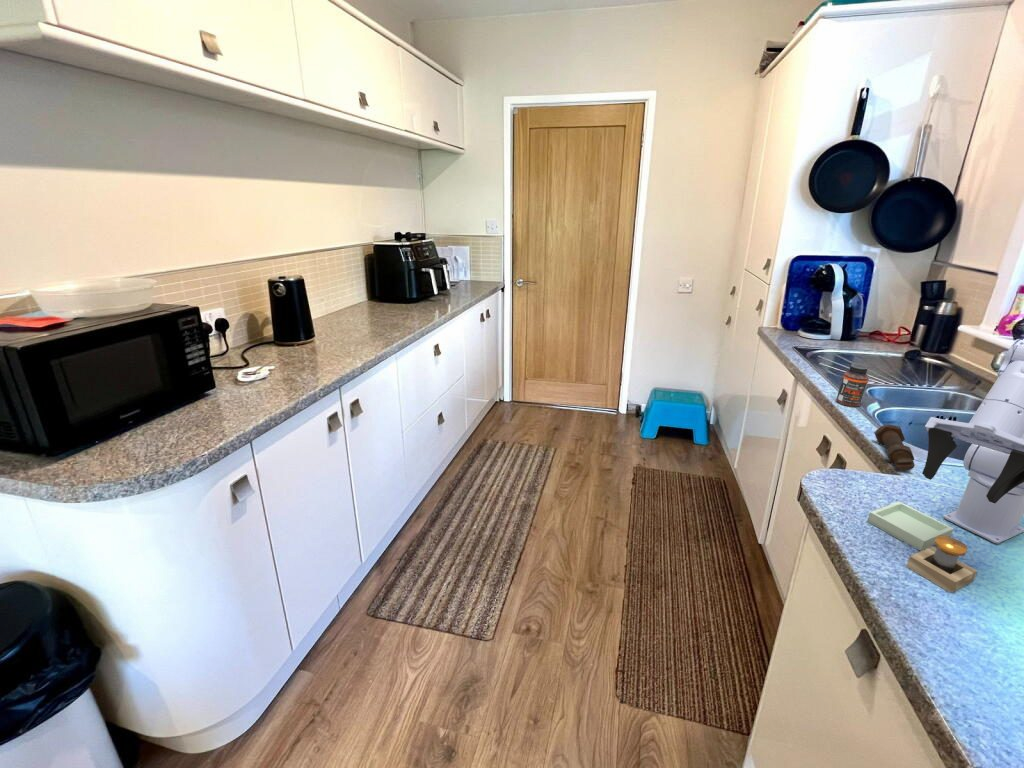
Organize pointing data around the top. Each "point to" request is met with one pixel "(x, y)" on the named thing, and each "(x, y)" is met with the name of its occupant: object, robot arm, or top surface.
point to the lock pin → (947, 553)
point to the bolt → (895, 446)
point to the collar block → (941, 571)
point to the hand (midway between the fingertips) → (957, 487)
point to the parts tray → (909, 525)
